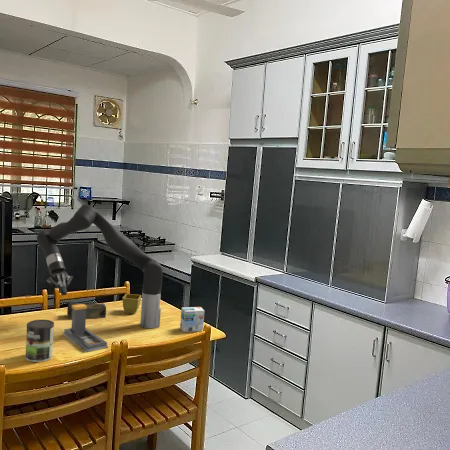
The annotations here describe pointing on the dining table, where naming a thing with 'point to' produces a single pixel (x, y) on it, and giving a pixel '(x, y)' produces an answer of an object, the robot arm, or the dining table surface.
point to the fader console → (86, 340)
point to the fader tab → (78, 318)
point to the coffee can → (39, 340)
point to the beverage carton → (90, 310)
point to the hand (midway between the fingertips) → (64, 294)
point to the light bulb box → (192, 319)
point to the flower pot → (131, 303)
